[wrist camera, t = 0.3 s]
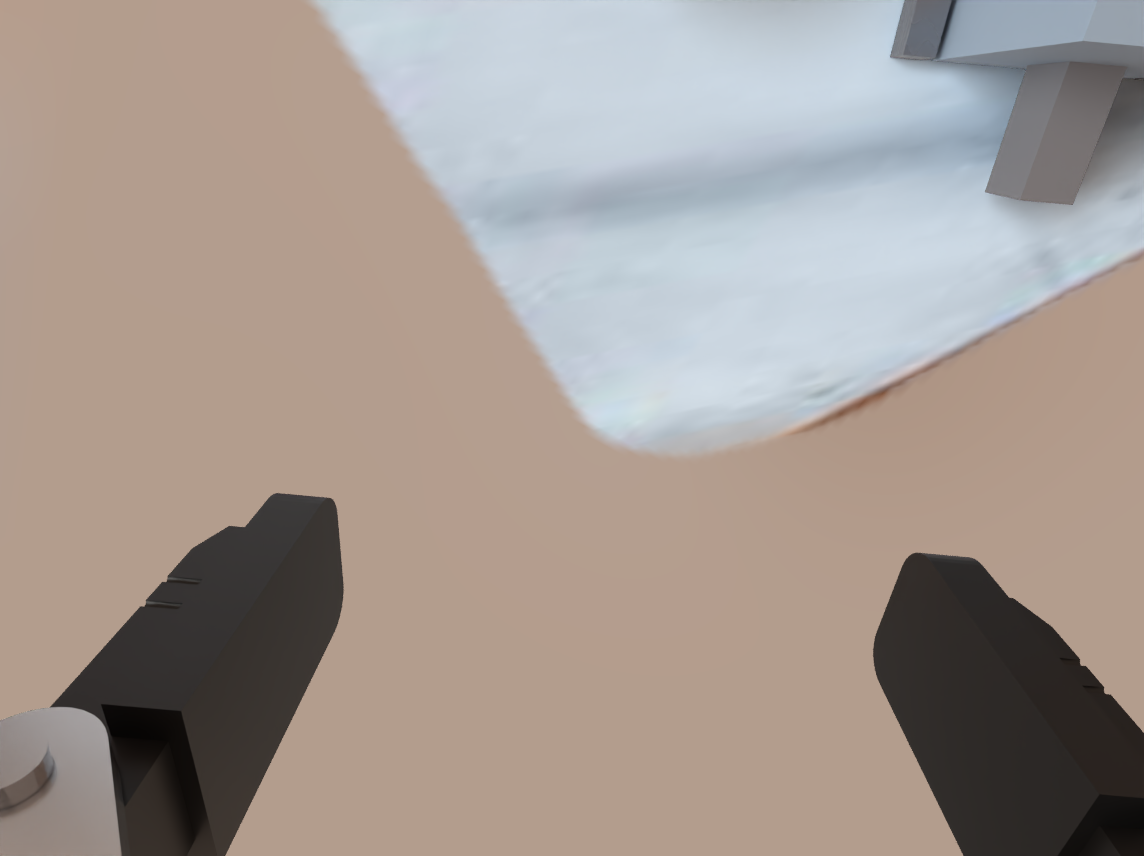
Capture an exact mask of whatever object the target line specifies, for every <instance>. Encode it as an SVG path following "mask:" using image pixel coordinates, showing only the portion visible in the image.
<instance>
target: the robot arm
mask: <svg viewBox="0 0 1144 856" xmlns="http://www.w3.org/2000/svg"><path fill="white" fill-rule="evenodd" d="M341 563H342V562H341V551H340V539H339V528H338V515H337V508H336V505H335V502H334V501H333V500H332V499H331V498H324V497H313V496H302V495H291V494H280V493H276V494H273V495H272V496H270V497H269V499H268V500H267V501H266V502H265V503H264V505H263V506H262V507H261V508H260V509H259V511H258V512H257V513H256V514H255V516H254V517H253V518H252V519H251V520H250V522H249V523H248V524H247V525H246V527H235V526H228V527H227V528H225V529H224V530H222V531H220V532H219V533H217V534H216V535H214V536H212V537H210V538H209V539H207V540H205V541H204V542H202V543H200V544H199V545H197V546H195V547H194V548H193V549H191V551H190V552H189V553H188V554H187V555H186V556H185V557H184V558H183V560H182V561H181V562H180V563H179V564H178V565H177V566H176V567H175V569H174V570H173V571H172V572H171V573H170V574H169V575H168V579H167V582H162V583H161V584H160V585H159V586H158V588H157V589H156V590H155V591H154V592H153V593H152V594H151V595H150V596H149V598H148V599H147V600H146V605H145V607H140V608H139V609H138V610H137V611H136V612H135V613H134V614H133V616H131V618H130V619H129V620H128V621H127V622H126V623H125V624H124V625H123V627H122V628H121V629H120V630H119V631H118V632H117V633H116V634H115V636H114V637H113V638H112V639H111V640H110V641H109V642H108V643H107V645H106V646H105V647H104V648H103V649H102V650H101V651H100V652H99V653H98V654H97V656H96V657H95V658H94V659H93V660H92V661H91V662H90V664H89V665H88V666H87V667H86V668H85V669H84V670H83V671H82V672H81V674H80V675H79V676H78V677H77V678H76V679H75V680H74V681H73V682H72V683H71V685H70V686H69V687H68V688H67V689H66V690H65V692H63V694H62V695H61V696H60V697H59V698H58V699H57V700H56V701H55V703H54V704H53V705H52V706H51V707H50V708H42V709H37V710H32V711H27V712H24V713H21V714H17V715H14V716H11V717H8V718H6V719H3V720H0V856H225V855H226V853H227V851H228V849H229V847H230V845H231V843H232V841H233V839H234V837H235V834H236V832H237V830H238V828H239V826H240V824H241V822H242V820H243V818H244V816H245V814H246V812H247V810H248V808H249V806H250V804H251V802H252V800H253V798H254V796H255V793H256V791H257V789H258V787H259V785H260V783H261V781H262V779H263V777H264V775H265V773H266V771H267V769H268V767H269V765H270V763H271V761H272V759H273V757H274V755H275V753H276V750H277V749H278V746H279V744H280V742H281V740H282V738H283V736H284V734H285V732H286V730H287V728H288V726H289V724H290V722H291V720H292V718H293V716H294V714H295V712H296V710H297V708H298V705H299V703H300V701H301V699H302V697H303V695H304V693H305V691H306V689H307V687H308V685H309V683H310V681H311V679H312V677H313V675H314V673H315V671H316V669H317V667H318V665H319V663H320V660H321V658H322V656H323V654H324V652H325V650H326V648H327V646H328V644H329V642H330V640H331V638H332V636H333V634H334V632H335V629H336V627H337V624H338V620H339V617H340V613H341V608H342V601H343V576H342V564H341ZM873 657H874V666H875V671H876V675H877V678H878V680H879V683H880V685H881V687H882V689H883V691H884V693H885V695H886V697H887V699H888V702H889V703H890V705H891V707H892V710H893V712H894V714H895V716H896V718H897V720H898V722H899V724H900V726H901V728H902V730H903V732H904V734H905V736H906V738H907V741H908V742H909V745H910V747H911V749H912V751H913V753H914V755H915V757H916V759H917V761H918V763H919V765H920V767H921V769H922V771H923V773H924V775H925V777H926V779H927V782H928V784H929V786H930V788H931V790H932V792H933V794H934V796H935V798H936V800H937V802H938V804H939V806H940V808H941V810H942V812H943V814H944V817H945V819H946V821H947V823H948V825H949V827H950V829H951V831H952V833H953V835H954V837H955V839H956V841H957V843H958V845H959V847H960V849H961V851H962V853H963V856H1144V733H1143V732H1142V730H1141V729H1140V728H1139V727H1138V726H1137V725H1136V724H1135V722H1134V721H1133V720H1132V719H1131V718H1130V716H1129V715H1128V714H1127V713H1126V712H1125V711H1124V710H1123V708H1122V707H1121V706H1120V705H1119V704H1118V703H1117V701H1116V700H1115V699H1114V698H1113V697H1112V696H1111V695H1109V694H1105V693H1104V687H1103V685H1102V684H1101V683H1100V682H1099V681H1098V680H1097V678H1096V677H1095V676H1094V675H1093V674H1092V673H1091V671H1090V670H1089V669H1088V668H1087V667H1086V666H1081V665H1080V659H1079V658H1078V656H1077V655H1076V654H1075V653H1074V652H1073V651H1072V649H1071V648H1070V647H1069V646H1068V645H1067V644H1066V643H1065V642H1064V640H1063V639H1062V638H1061V637H1060V636H1059V634H1058V633H1057V632H1056V631H1055V630H1054V629H1053V628H1052V627H1051V626H1050V625H1049V624H1047V623H1046V622H1045V621H1043V620H1042V619H1041V618H1039V617H1038V616H1036V615H1035V614H1034V613H1032V612H1031V611H1030V610H1028V609H1027V608H1026V607H1024V606H1023V605H1022V604H1020V603H1019V602H1018V601H1016V600H1015V599H1013V598H1009V597H1008V596H1007V595H1006V593H1005V592H1004V591H1003V590H1002V589H1001V587H1000V586H999V585H998V584H997V583H996V581H995V580H994V579H993V578H992V577H991V575H990V574H989V573H988V572H987V570H986V569H985V568H984V567H983V566H982V565H981V564H980V563H979V562H978V561H977V560H975V559H973V558H969V557H958V556H947V555H936V554H925V553H914V554H911V555H910V556H909V557H908V558H907V559H906V560H905V562H904V564H903V566H902V568H901V571H900V574H899V576H898V579H897V582H896V584H895V586H894V590H893V592H892V594H891V597H890V599H889V602H888V604H887V607H886V610H885V612H884V615H883V618H882V620H881V623H880V625H879V628H878V630H877V633H876V636H875V641H874V649H873Z"/></svg>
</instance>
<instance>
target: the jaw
mask: <svg viewBox="0 0 1144 856" xmlns="http://www.w3.org/2000/svg"><path fill="white" fill-rule="evenodd" d="M931 61H942V62H953V63H964V64H975V65H986V66H998V67H1009V68H1020V69H1026V71H1025V74H1024V77H1023V80H1022V83H1021V86H1020V89H1019V92H1018V95H1017V98H1016V101H1015V104H1014V107H1013V110H1012V113H1011V116H1010V119H1009V122H1008V125H1007V128H1006V131H1005V134H1004V137H1003V140H1002V143H1001V146H1000V149H999V152H998V155H997V158H996V161H995V164H994V167H993V169H992V172H991V175H990V178H989V181H988V184H987V187H986V190H985V192H986V193H991V194H995V195H999V196H1004V197H1008V198H1013V199H1017V200H1024V201H1035V202H1047V203H1058V204H1069V205H1073V203H1074V200H1075V198H1076V195H1077V193H1078V190H1079V188H1080V185H1081V182H1082V180H1083V177H1084V175H1085V172H1086V170H1087V167H1088V165H1089V162H1090V160H1091V157H1092V155H1093V152H1094V150H1095V147H1096V145H1097V142H1098V139H1099V137H1100V134H1101V132H1102V129H1103V127H1104V124H1105V122H1106V119H1107V117H1108V114H1109V112H1110V109H1111V107H1112V104H1113V102H1114V99H1115V96H1116V94H1117V91H1118V89H1119V86H1120V84H1121V81H1122V79H1123V78H1144V0H952V1H951V4H950V8H949V11H948V15H947V19H946V22H945V26H944V29H943V33H942V36H941V40H940V43H939V47H938V51H937V54H936V58H932V59H931Z"/></svg>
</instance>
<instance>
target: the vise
mask: <svg viewBox="0 0 1144 856" xmlns="http://www.w3.org/2000/svg"><path fill="white" fill-rule="evenodd" d="M951 1H952V0H905V1H904V5H903V9H902V13H901V17H900V21H899V24H898V28H897V32H896V36H895V40H894V44H893V48H892V52H891V56H890V57H893V58H904V59H915V60H925V59H932V58H936V54H937V51H938V47H939V43H940V40H941V36H942V33H943V29H944V26H945V22H946V19H947V15H948V11H949V8H950V4H951ZM1135 79H1137V80H1144V78H1135Z"/></svg>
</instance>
